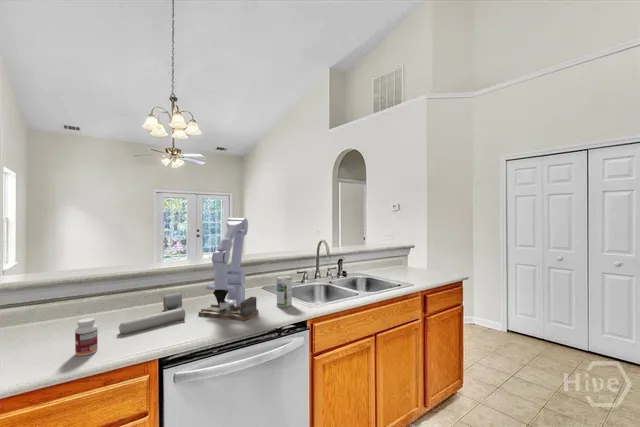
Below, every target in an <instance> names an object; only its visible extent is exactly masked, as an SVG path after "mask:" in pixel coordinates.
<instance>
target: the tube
mask: <svg viewBox="0 0 640 427" xmlns="http://www.w3.org/2000/svg"><path fill="white" fill-rule="evenodd" d="M185 318H186V311H185V309H184V308H183V307H182V308H181V307H180V308H179V309H173V310H170V311H166V310H165V311H162V312H157V313H154V314H149V315H145V316H141V317H136V318H132V319H128V320H124V321H121V323H120V324H119V325H118V330H119V334H121V335H127V334H128V335H129V334H131V333H135V332H139V331H143V330H147V329H150V328H155V327H158V326H164V325H166V324H167V325H168V324H171V323H175V322H179V321H184V320H185Z"/></svg>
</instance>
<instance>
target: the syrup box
mask: <svg viewBox="0 0 640 427" xmlns="http://www.w3.org/2000/svg"><path fill="white" fill-rule="evenodd" d="M292 280H293V278H292V276H286V275H280V276H278V277H276V307H280V308H285V309H286V308H288V307H290V306H292V304H293V301H292V300H293V295H292V294H293V283H292V282H293V281H292Z"/></svg>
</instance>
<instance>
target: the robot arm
mask: <svg viewBox="0 0 640 427" xmlns="http://www.w3.org/2000/svg"><path fill="white" fill-rule="evenodd" d="M226 228H227V229H226V233H225V235H224V238H222V239H221V240H220V242H219V245H218V247H217V248H216V250H215V251H214V252H213V253H212V254H211V255H212V256H211V262H212V267H213V270H214V275H213V276H214V277H213V278H214V280H213V281H214V284H207V285H206V286H205V288H206V289H205V290H206V291H208V290H210V291H211V290H212V291H213V295H214V297H215V299H216V303H217V305H218V306H220V302H222V301H224V300H227V299H229V300H236V305H239V306H240V302H242V301H244V300H246V288H245V286H244V284H245V282H246V271H245V270H244V269H243V268H242V267H241V264H242V255H243V248H244V247H243V246H244V239H245V236H246V235H247V234H248V229H249V222H248V219H247V218H246V217H228V218H227V220H226ZM231 249H232V252H231ZM230 252H231V253H230ZM230 256H231V261H230ZM229 261H230V266H229V267H228V263H229Z"/></svg>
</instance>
